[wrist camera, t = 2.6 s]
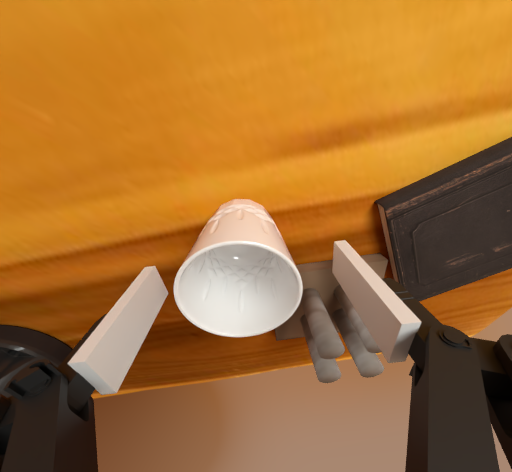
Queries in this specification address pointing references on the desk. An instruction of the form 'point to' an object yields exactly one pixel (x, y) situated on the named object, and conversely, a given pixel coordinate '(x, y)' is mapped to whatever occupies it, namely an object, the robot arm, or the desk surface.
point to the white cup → (238, 274)
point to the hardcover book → (452, 224)
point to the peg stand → (332, 321)
